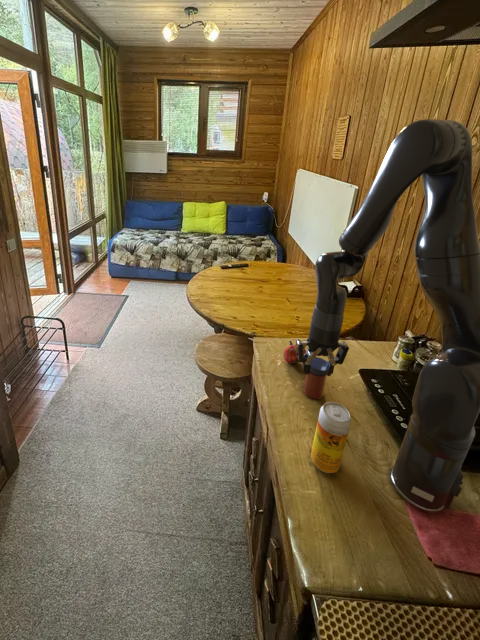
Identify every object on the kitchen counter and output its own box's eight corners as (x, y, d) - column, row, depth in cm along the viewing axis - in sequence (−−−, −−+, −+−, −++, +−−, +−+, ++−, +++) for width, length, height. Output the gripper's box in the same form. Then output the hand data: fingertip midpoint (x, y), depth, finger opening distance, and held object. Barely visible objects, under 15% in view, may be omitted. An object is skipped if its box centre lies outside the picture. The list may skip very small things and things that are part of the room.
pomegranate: (308, 373, 101) (301, 343, 106) (314, 368, 95) (306, 336, 100) (285, 374, 101) (279, 344, 107) (290, 369, 95) (283, 338, 100)
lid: (305, 360, 91) (306, 355, 90) (326, 363, 90) (327, 358, 89) (308, 374, 85) (309, 368, 84) (330, 377, 84) (332, 372, 83)
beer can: (313, 473, 68) (325, 421, 62) (307, 448, 73) (317, 398, 68) (342, 477, 67) (356, 425, 62) (334, 451, 72) (346, 402, 67)
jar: (320, 387, 92) (326, 360, 89) (324, 400, 87) (330, 373, 84) (302, 384, 93) (306, 358, 90) (304, 397, 88) (309, 370, 85)
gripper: (303, 329, 79) (294, 381, 85) (360, 331, 78) (347, 384, 84) (295, 314, 86) (288, 363, 92) (347, 316, 86) (336, 365, 91)
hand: (316, 373), depth 88 cm, fingers closed on lid, 5 cm apart
